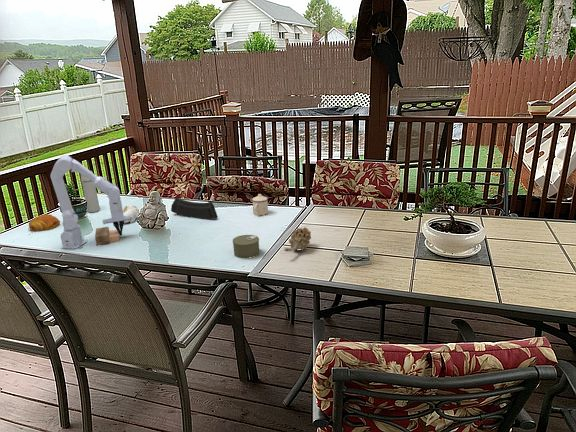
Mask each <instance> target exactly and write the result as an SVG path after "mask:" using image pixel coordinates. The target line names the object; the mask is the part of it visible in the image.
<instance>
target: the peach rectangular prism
mask: <svg viewBox="0 0 576 432" xmlns="http://www.w3.org/2000/svg"><path fill="white" fill-rule="evenodd" d="M108 237H109V242H111V243H116V242H120V236H119V233H118V231H117V229H112V230H109V235H108Z"/></svg>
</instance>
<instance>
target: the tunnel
mask: <svg viewBox="0 0 576 432" xmlns="http://www.w3.org/2000/svg"><path fill="white" fill-rule="evenodd" d="M109 231H110V227H109V226H104V227H96V228H95V234H94V238H95V245H96V246H97V247H99V246H98V245H100V246H105V245H110V242H109V237H108V235H109Z"/></svg>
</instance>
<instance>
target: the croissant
mask: <svg viewBox="0 0 576 432" xmlns="http://www.w3.org/2000/svg"><path fill="white" fill-rule="evenodd" d="M60 224H61V221H60V220H59V218H58V217H56V216H54V215H52V214H46V213H45V214H40V215H38V216H36V217H33V219H31V220H30V221H29V222H28V227H29V229H30V231H33V232H40V231H41V232H42V231H49V230H53V229H54V228H57V227H58V226H59V225H60Z"/></svg>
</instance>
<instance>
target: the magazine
mask: <svg viewBox="0 0 576 432" xmlns="http://www.w3.org/2000/svg"><path fill="white" fill-rule="evenodd" d="M170 212H172V213H173V214H176V215H177V216H183V217H187V218H190V219H191V218H192V219H197V220H198V219H200V220H203V219H204V220H205V219H206V220H209V219H213V220H214V219H218V213H217V211H216V209H215V205H214V203H213V202H212V201H209V202H197V201H196V202H195V201H194V202H193V201H189V200H184V199H182V198H179V197H178V196H176V197H175V198H174V200H173V203H172V204H171V208H170Z"/></svg>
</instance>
